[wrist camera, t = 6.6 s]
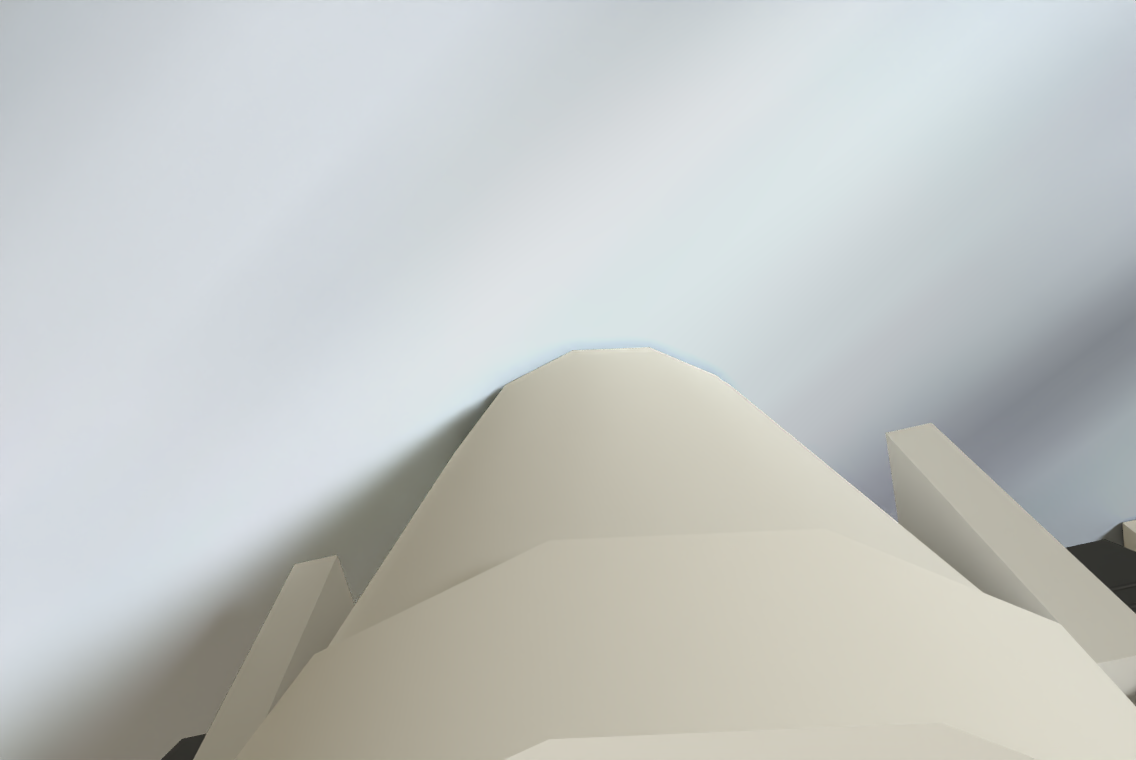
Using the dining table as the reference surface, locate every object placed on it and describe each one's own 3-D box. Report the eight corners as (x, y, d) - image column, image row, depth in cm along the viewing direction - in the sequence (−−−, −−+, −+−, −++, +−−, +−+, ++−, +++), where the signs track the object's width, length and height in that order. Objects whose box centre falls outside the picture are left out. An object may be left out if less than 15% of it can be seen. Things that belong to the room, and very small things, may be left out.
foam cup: (950, 527, 19) (1660, 1344, 7) (590, 785, 21) (648, 1808, 9) (644, 152, 17) (890, 377, 5) (269, 476, 19) (-275, 1268, 6)
